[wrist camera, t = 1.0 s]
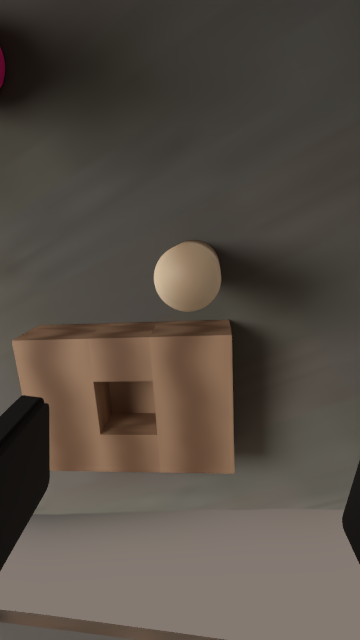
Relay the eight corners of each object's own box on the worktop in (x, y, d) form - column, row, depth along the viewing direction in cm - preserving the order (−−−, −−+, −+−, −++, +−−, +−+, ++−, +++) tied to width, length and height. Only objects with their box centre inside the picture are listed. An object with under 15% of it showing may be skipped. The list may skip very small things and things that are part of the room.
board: (229, 319, 34) (231, 335, 29) (231, 441, 38) (234, 473, 33) (38, 325, 36) (11, 340, 31) (58, 440, 40) (37, 470, 35)
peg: (217, 236, 32) (220, 242, 20) (218, 281, 33) (222, 310, 21) (173, 239, 32) (151, 246, 21) (176, 282, 33) (156, 312, 22)
